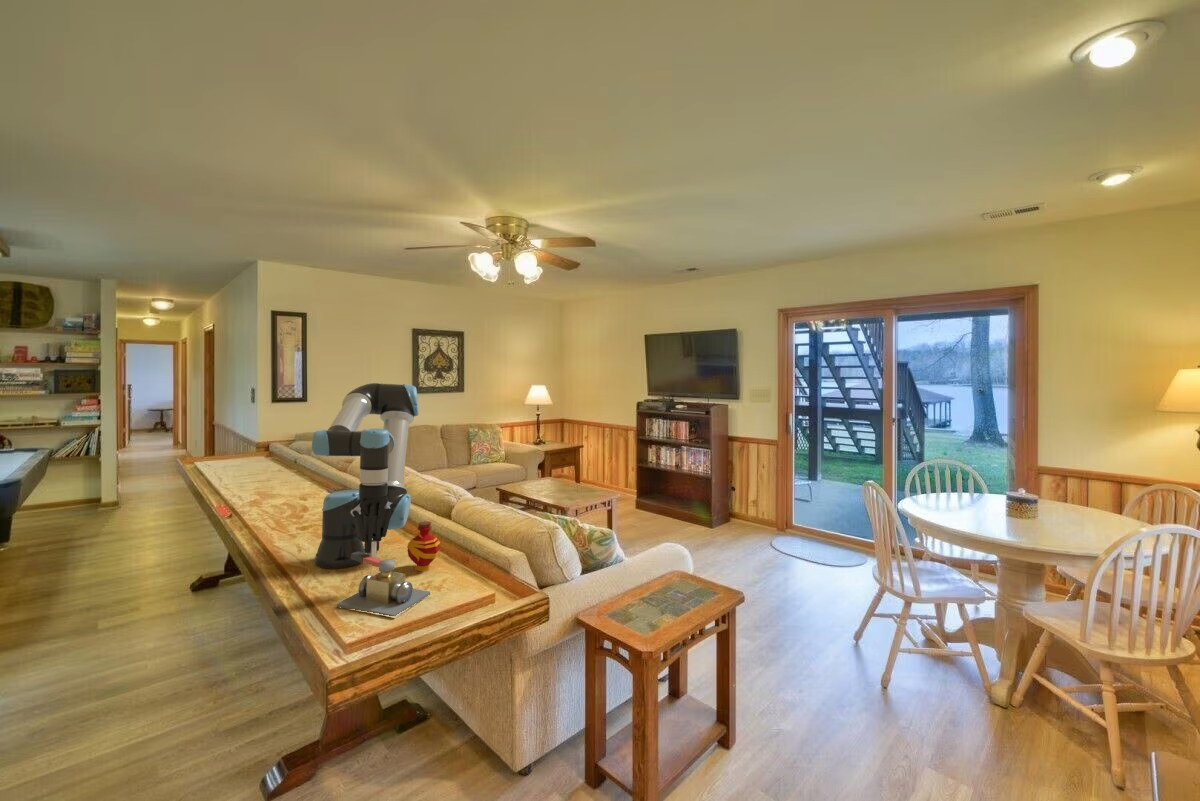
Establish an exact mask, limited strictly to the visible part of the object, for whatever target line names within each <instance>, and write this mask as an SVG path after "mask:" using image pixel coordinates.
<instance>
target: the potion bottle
mask: <svg viewBox="0 0 1200 801" xmlns="http://www.w3.org/2000/svg"><path fill="white" fill-rule="evenodd" d="M417 524H418V527H417V530H418V531H419V532H418V533H417V535H416V536H414V537H412V538H411V540H409V542H408V544H407V546H406V548H407V550H406V551H407V555H408V557H409V559H410V560H411V562H412V563H414V564H415V567H414V570H416V571H419V572H420V571H421V572H424V571H428V570H430V569H431V568H432V566H431V563H432V562H433V561H434V560H435V559H437V557H439V555H440V552H441V551H440V544H441V542H440V541H441V540H439V539H438V538H437V536H435V535H434V534H430V530H432V528H433V527H432V522H431V521H427V520H424V521H419V522H418V523H417Z"/></svg>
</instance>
